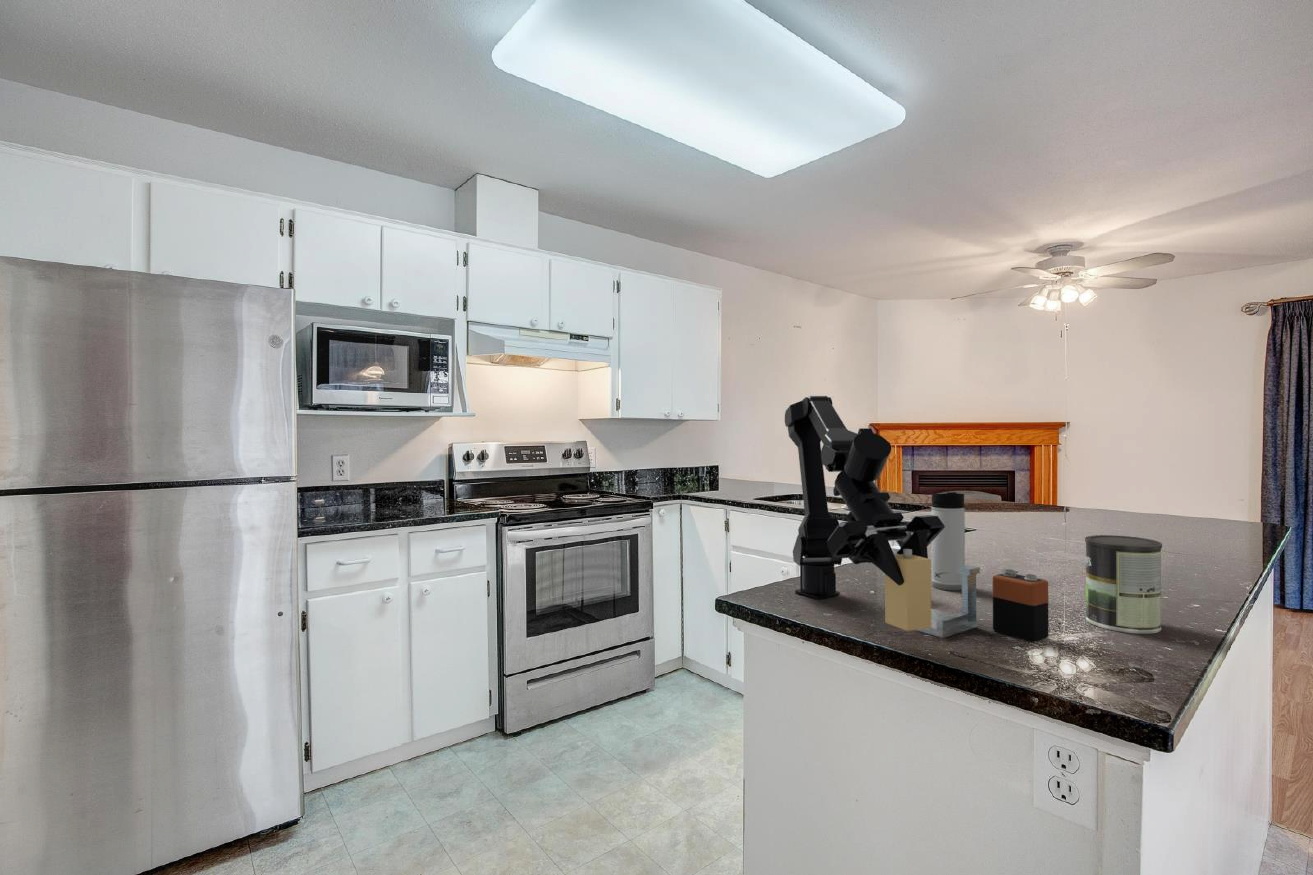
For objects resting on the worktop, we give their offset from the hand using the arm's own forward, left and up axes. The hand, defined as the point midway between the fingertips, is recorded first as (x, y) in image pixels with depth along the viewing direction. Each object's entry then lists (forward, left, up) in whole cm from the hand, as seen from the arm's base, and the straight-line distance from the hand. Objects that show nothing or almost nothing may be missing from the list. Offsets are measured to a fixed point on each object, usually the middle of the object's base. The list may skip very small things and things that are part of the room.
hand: (914, 582), depth 93 cm
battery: (+4, +21, -11) cm, 24 cm away
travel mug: (-20, +40, -11) cm, 46 cm away
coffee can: (+11, +40, -11) cm, 43 cm away
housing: (-1, 0, -7) cm, 7 cm away
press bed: (-6, +14, -10) cm, 19 cm away
